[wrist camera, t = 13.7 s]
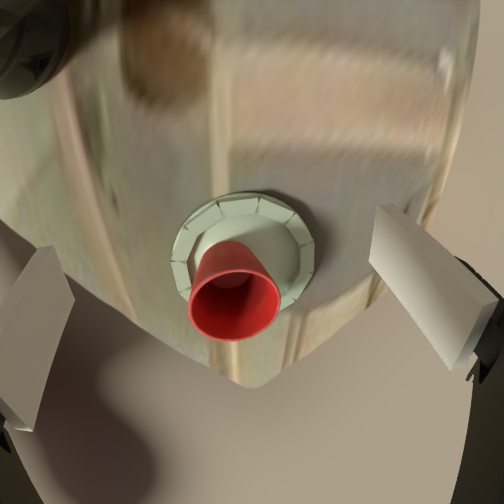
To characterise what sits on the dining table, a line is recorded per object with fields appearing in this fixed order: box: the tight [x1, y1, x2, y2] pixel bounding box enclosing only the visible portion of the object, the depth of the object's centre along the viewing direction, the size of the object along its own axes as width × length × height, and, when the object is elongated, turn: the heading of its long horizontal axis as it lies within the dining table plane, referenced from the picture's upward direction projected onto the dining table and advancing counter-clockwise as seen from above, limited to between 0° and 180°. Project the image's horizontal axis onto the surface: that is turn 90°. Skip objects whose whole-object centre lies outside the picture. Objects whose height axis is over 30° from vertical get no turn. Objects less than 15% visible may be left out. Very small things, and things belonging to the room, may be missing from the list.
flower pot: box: [188, 241, 281, 342], centre depth 41 cm, size 11×11×10 cm
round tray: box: [171, 192, 315, 311], centre depth 45 cm, size 20×20×2 cm
